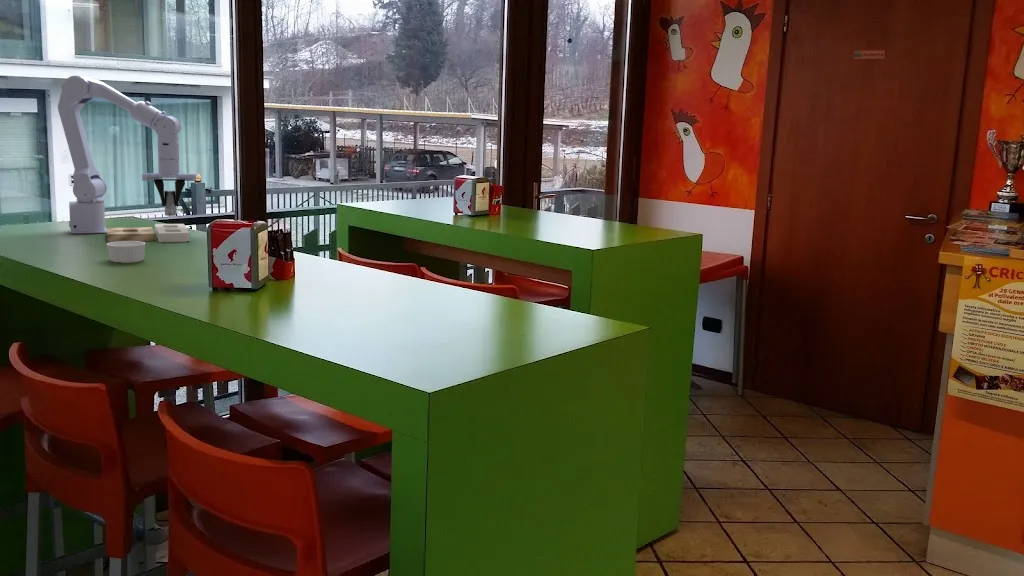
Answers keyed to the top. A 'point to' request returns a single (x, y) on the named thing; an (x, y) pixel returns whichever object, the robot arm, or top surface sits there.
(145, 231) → the socket block
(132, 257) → the ramekin
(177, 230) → the tool rack
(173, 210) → the steel peg
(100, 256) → the top surface
